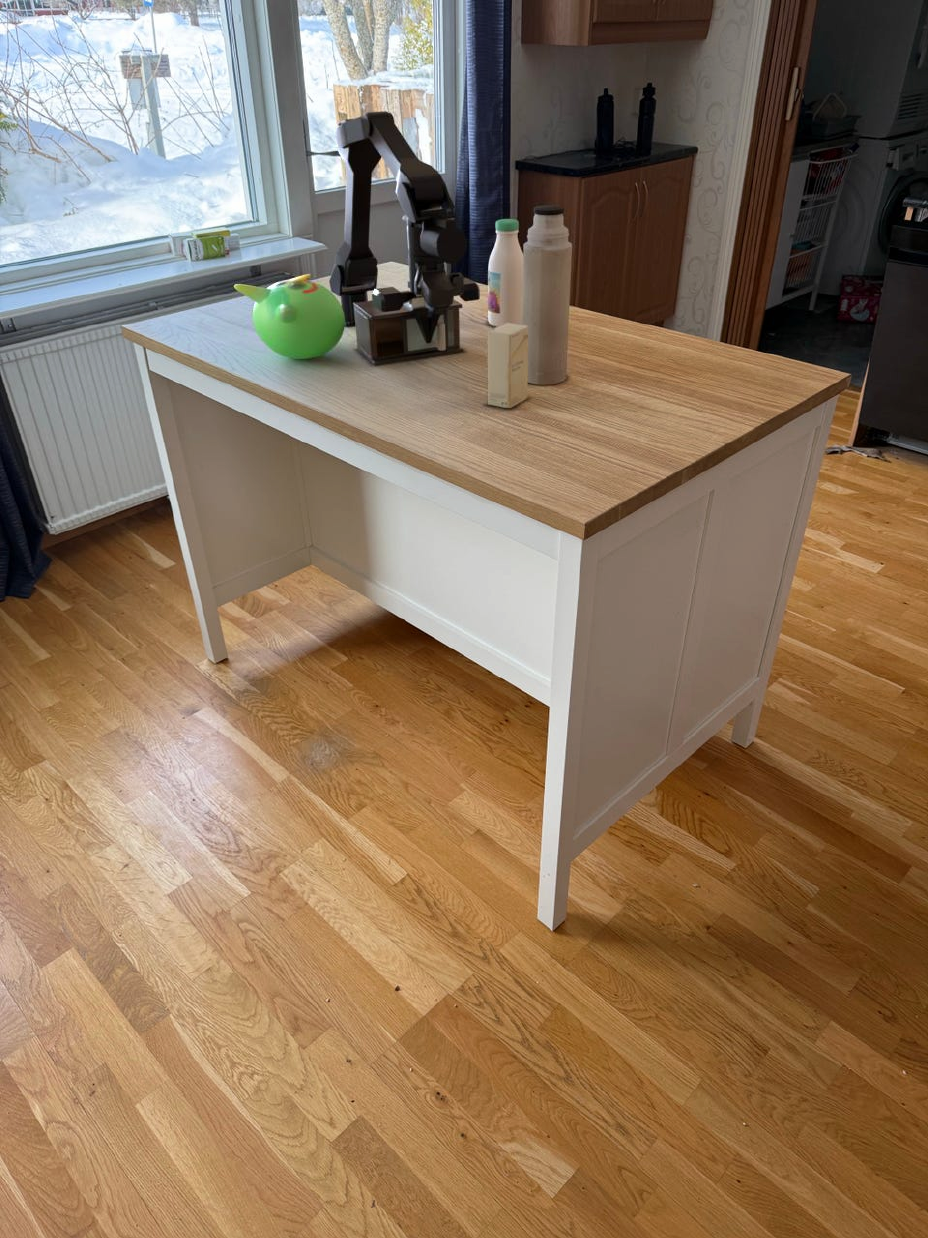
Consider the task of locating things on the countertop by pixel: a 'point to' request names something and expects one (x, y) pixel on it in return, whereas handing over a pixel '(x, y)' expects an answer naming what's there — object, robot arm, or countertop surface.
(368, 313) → the cupboard
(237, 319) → the countertop surface
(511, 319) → the milk bottle
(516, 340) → the cosmetic box
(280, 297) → the toy bird
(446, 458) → the countertop surface
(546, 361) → the thermos bottle
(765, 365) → the countertop surface
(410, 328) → the glass door
